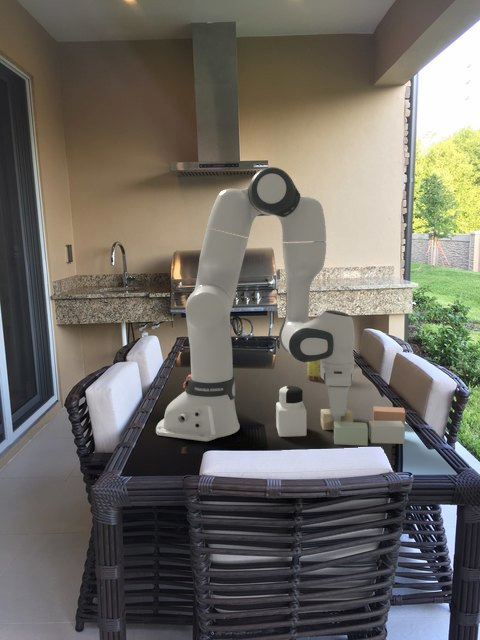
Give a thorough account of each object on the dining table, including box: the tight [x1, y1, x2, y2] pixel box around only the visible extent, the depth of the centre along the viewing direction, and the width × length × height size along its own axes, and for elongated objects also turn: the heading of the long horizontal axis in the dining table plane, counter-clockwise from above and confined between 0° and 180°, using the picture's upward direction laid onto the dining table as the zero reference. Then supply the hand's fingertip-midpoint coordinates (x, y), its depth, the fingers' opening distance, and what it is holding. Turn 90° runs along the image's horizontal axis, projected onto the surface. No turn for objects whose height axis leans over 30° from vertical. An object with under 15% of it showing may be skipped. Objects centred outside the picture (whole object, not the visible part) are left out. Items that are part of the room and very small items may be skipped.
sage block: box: [333, 421, 369, 447], centre depth 124 cm, size 8×4×4 cm, turn 81°
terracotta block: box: [372, 405, 406, 427], centre depth 135 cm, size 8×4×4 cm, turn 78°
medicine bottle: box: [275, 385, 308, 438], centre depth 131 cm, size 7×7×12 cm
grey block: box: [368, 420, 406, 445], centre depth 125 cm, size 8×4×4 cm, turn 84°
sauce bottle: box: [306, 360, 324, 382], centre depth 180 cm, size 7×6×20 cm
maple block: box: [320, 408, 354, 431], centre depth 134 cm, size 8×4×4 cm, turn 91°
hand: (336, 420), depth 134 cm, fingers open, 5 cm apart
